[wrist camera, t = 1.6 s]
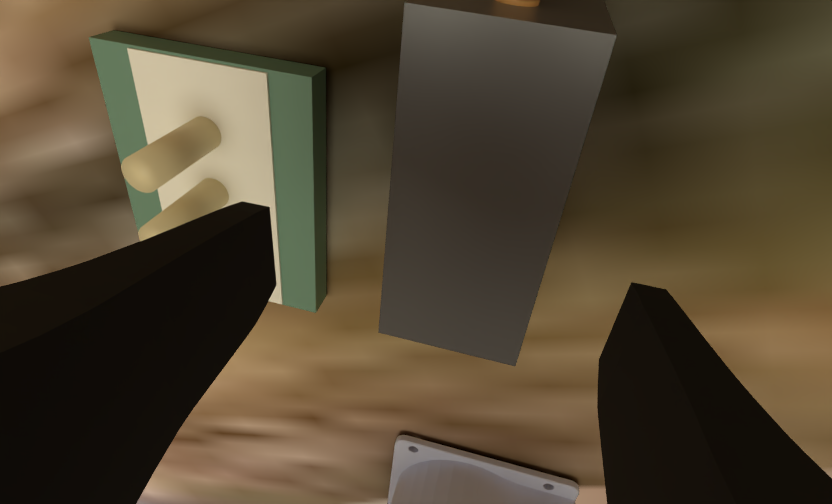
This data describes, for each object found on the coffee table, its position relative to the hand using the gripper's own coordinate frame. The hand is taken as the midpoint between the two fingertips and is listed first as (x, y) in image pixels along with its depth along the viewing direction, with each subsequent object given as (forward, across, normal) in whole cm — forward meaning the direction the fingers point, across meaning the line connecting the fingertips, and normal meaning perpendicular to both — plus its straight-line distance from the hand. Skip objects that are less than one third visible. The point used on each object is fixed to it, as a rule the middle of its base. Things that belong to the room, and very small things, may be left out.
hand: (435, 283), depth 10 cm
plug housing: (+8, 0, -2) cm, 9 cm away
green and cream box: (+8, +10, +4) cm, 13 cm away
